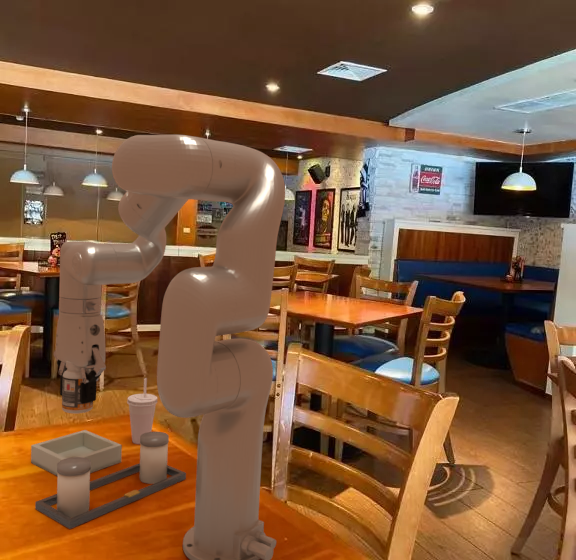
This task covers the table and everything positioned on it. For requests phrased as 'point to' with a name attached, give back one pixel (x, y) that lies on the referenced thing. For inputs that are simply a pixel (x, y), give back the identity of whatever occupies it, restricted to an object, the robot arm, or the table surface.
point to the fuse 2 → (153, 457)
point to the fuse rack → (129, 497)
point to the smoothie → (141, 413)
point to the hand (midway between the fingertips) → (77, 397)
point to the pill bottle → (73, 390)
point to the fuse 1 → (73, 486)
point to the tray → (76, 451)
